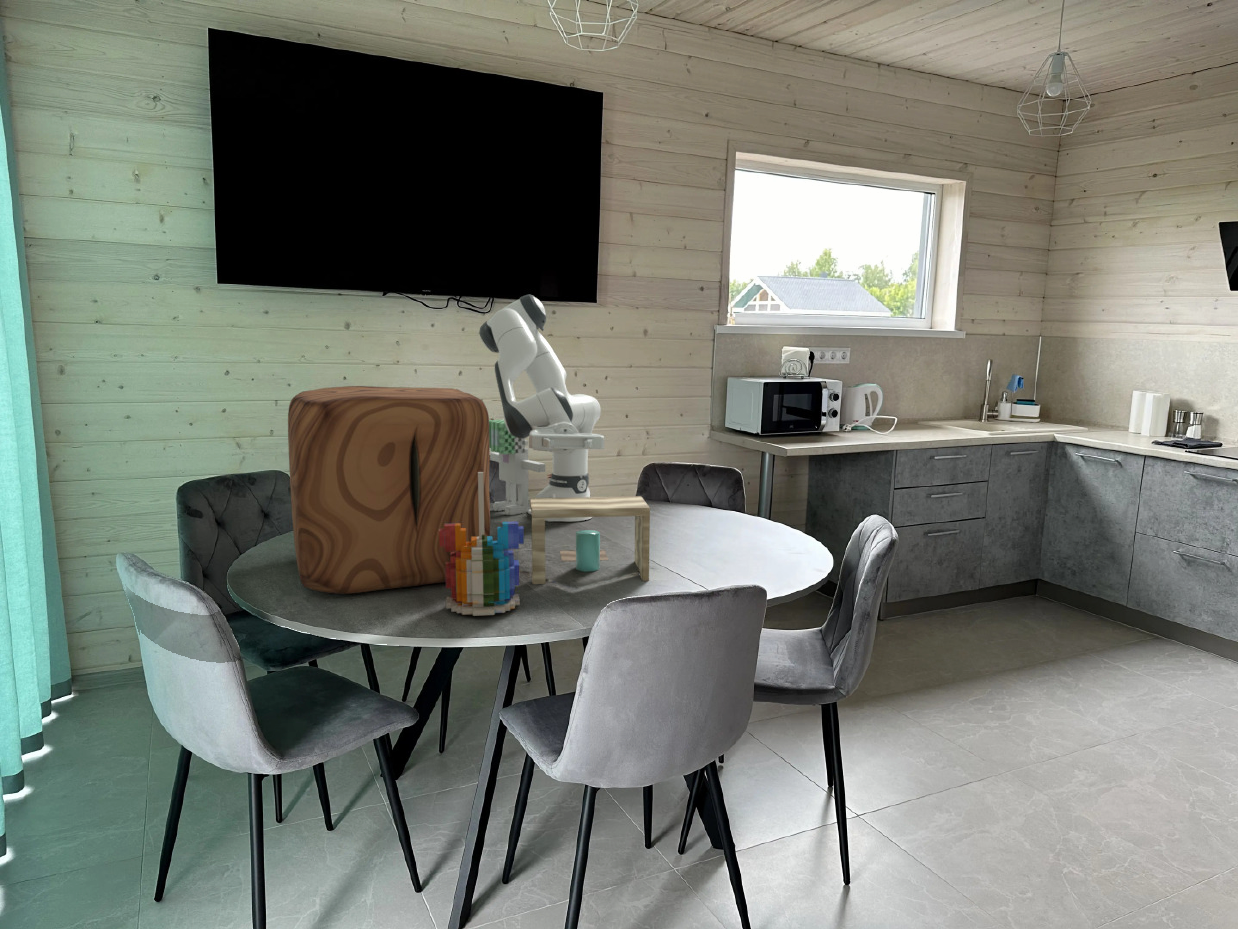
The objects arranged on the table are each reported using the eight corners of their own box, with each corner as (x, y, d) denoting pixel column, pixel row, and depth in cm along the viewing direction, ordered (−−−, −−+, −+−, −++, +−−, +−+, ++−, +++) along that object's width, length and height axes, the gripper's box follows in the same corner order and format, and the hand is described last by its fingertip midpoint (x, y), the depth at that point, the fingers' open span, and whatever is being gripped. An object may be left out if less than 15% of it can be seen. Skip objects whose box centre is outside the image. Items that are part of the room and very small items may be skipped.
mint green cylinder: (570, 571, 219) (570, 532, 217) (588, 567, 223) (589, 528, 222) (586, 576, 215) (586, 537, 213) (604, 572, 219) (604, 533, 217)
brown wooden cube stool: (292, 555, 232) (283, 385, 225) (460, 541, 249) (456, 382, 242) (299, 605, 191) (288, 399, 184) (499, 584, 208) (496, 394, 201)
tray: (559, 554, 235) (559, 551, 235) (604, 553, 236) (604, 550, 236) (562, 564, 225) (562, 561, 225) (608, 563, 226) (608, 559, 226)
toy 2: (471, 506, 296) (469, 417, 291) (497, 502, 302) (495, 415, 298) (519, 522, 273) (518, 426, 268) (546, 517, 279) (545, 424, 275)
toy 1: (440, 622, 181) (436, 479, 177) (442, 599, 197) (439, 467, 192) (526, 618, 184) (525, 477, 180) (522, 595, 199) (520, 465, 195)
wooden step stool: (530, 568, 222) (530, 498, 219) (640, 564, 225) (641, 496, 223) (532, 584, 208) (531, 510, 205) (648, 580, 212) (649, 507, 209)
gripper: (600, 450, 243) (608, 457, 230) (526, 449, 240) (530, 455, 226) (601, 427, 242) (609, 433, 229) (527, 426, 239) (530, 431, 225)
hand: (569, 444), depth 228 cm, fingers open, 8 cm apart
